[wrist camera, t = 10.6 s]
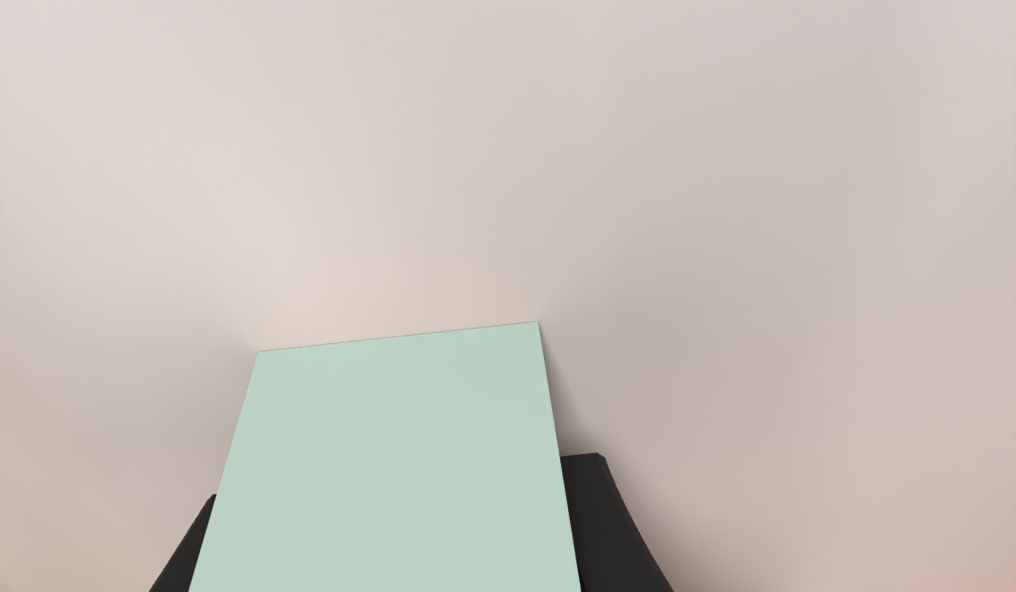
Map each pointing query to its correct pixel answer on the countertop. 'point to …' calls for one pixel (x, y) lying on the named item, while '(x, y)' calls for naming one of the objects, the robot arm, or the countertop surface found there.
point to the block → (394, 471)
